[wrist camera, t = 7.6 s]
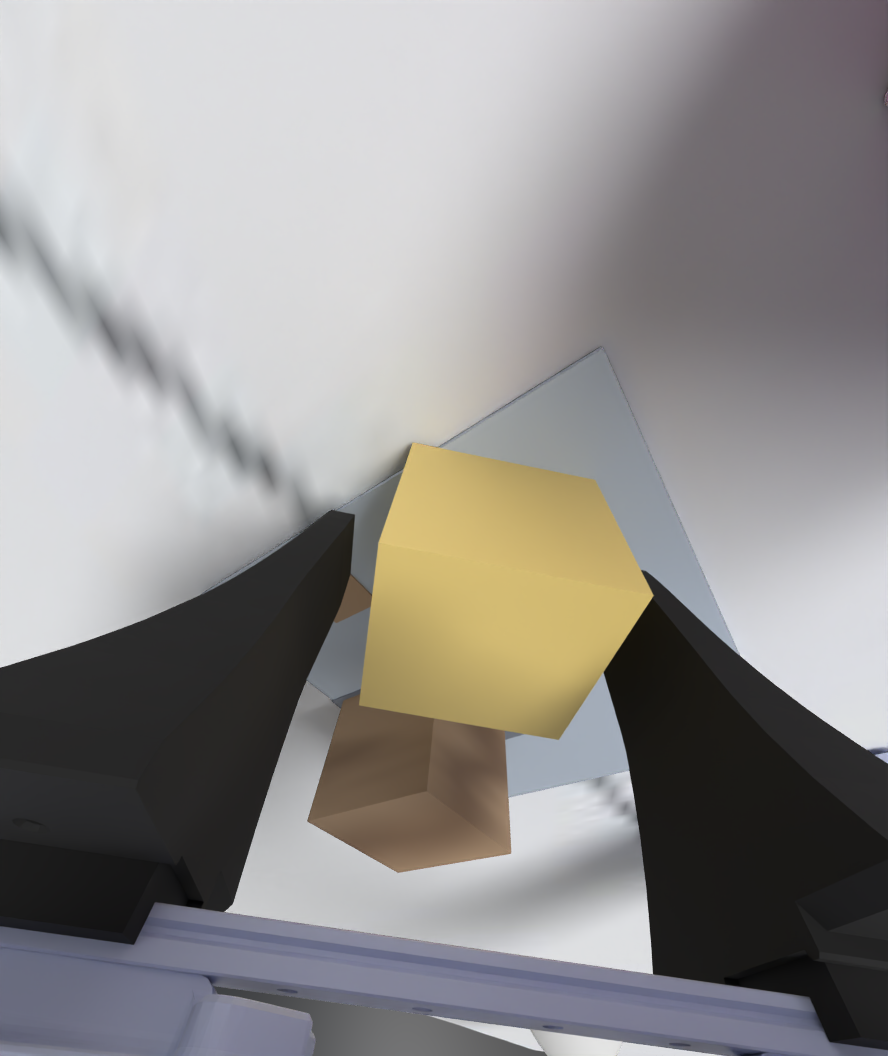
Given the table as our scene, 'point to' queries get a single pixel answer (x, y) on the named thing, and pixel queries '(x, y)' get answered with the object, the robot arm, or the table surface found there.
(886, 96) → the box
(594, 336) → the table surface
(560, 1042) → the flower in vase
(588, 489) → the mustard block
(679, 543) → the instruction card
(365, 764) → the walnut block
